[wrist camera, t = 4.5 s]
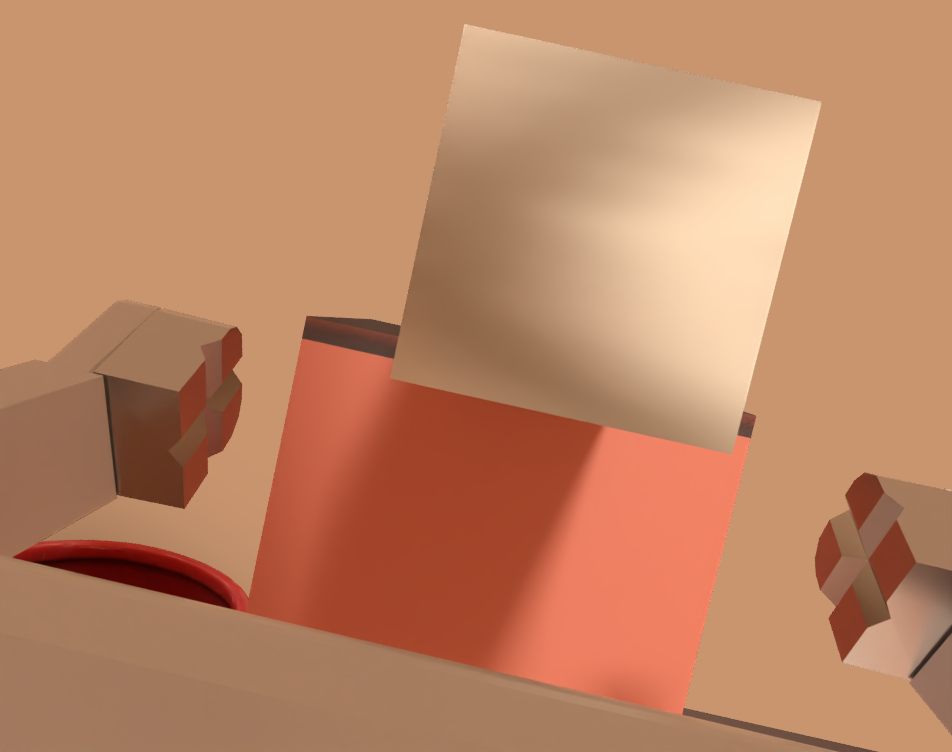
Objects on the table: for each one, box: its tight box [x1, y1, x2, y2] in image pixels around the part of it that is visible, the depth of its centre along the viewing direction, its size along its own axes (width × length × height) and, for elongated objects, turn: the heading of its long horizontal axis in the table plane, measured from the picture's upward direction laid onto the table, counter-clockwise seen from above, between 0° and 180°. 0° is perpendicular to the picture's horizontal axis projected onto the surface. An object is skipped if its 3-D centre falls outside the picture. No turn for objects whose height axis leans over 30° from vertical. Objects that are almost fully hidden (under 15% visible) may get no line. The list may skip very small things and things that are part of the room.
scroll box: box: [390, 24, 822, 454], centre depth 17 cm, size 4×17×4 cm, turn 179°
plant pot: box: [12, 540, 249, 612], centre depth 34 cm, size 13×13×12 cm
